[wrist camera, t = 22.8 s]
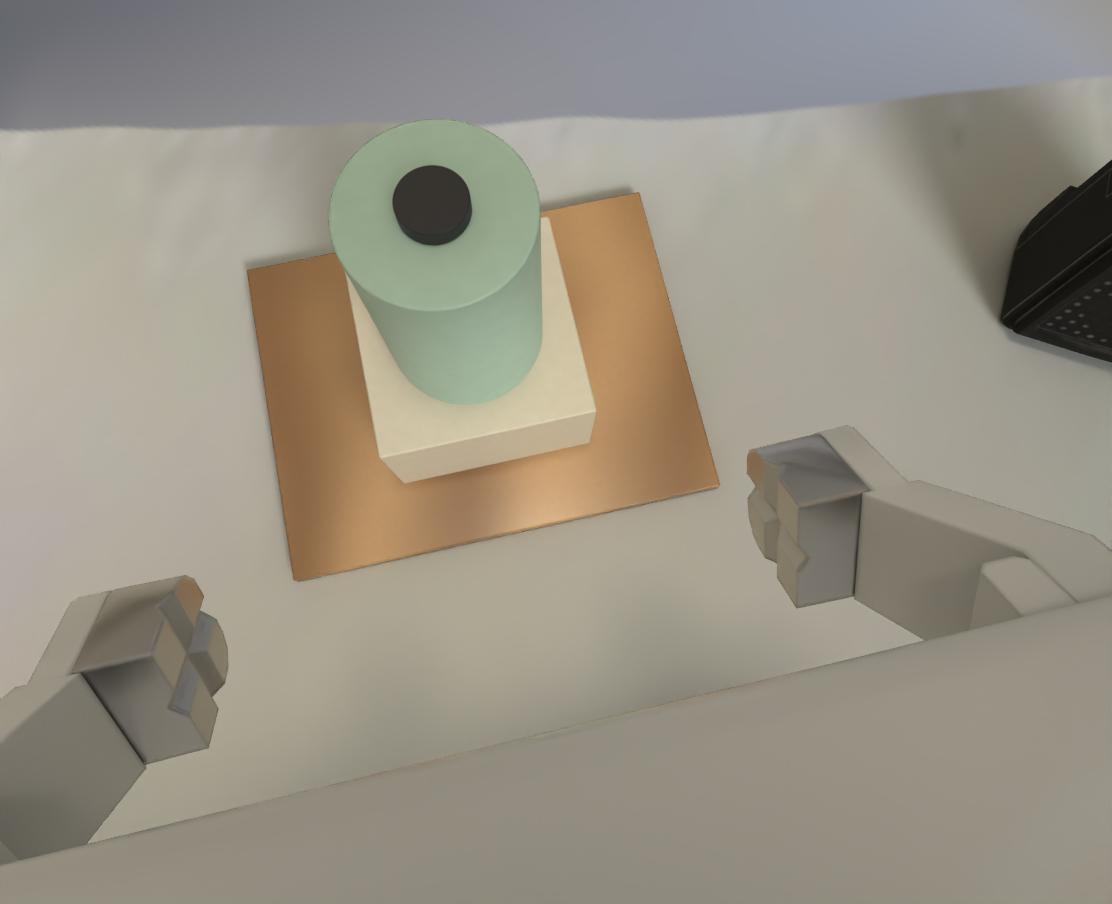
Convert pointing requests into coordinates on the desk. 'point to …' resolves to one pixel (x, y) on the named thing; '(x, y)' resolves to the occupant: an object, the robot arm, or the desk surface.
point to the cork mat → (494, 490)
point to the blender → (457, 302)
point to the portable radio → (1067, 271)
